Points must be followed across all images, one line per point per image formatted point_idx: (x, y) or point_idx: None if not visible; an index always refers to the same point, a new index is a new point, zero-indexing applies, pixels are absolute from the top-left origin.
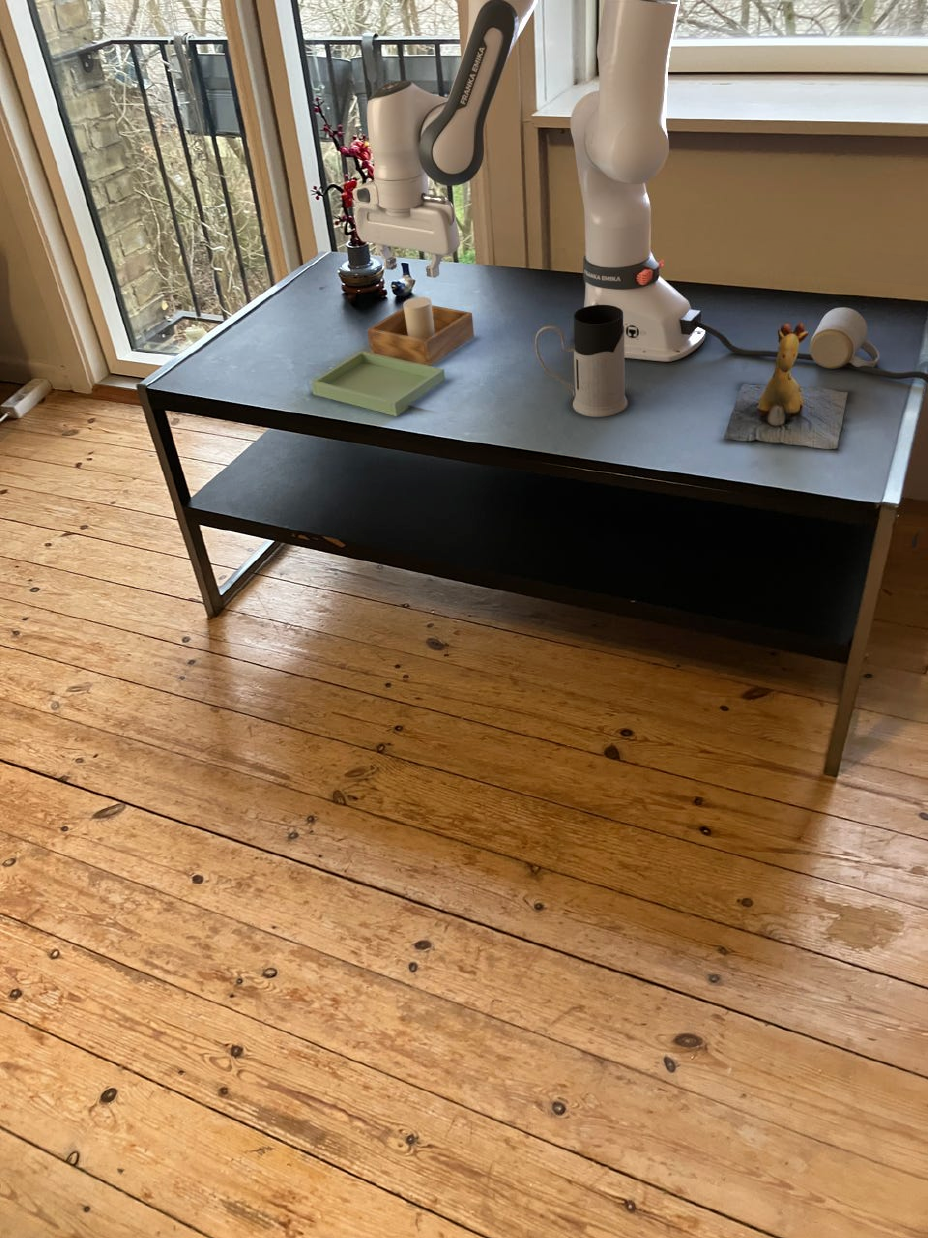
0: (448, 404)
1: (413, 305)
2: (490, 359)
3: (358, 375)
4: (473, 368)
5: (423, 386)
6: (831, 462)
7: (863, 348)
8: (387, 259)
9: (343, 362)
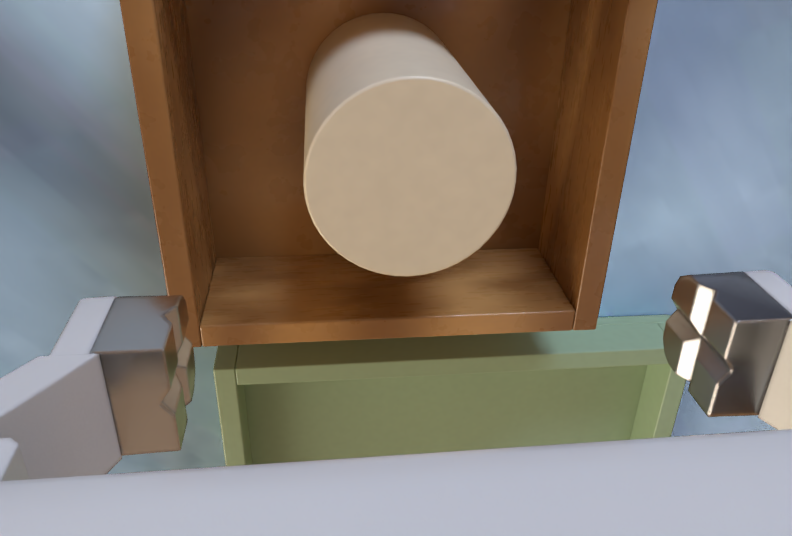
0: (747, 422)
1: (420, 239)
2: (788, 56)
3: (312, 439)
4: (738, 169)
5: None
6: None
7: None
8: (118, 433)
9: None
